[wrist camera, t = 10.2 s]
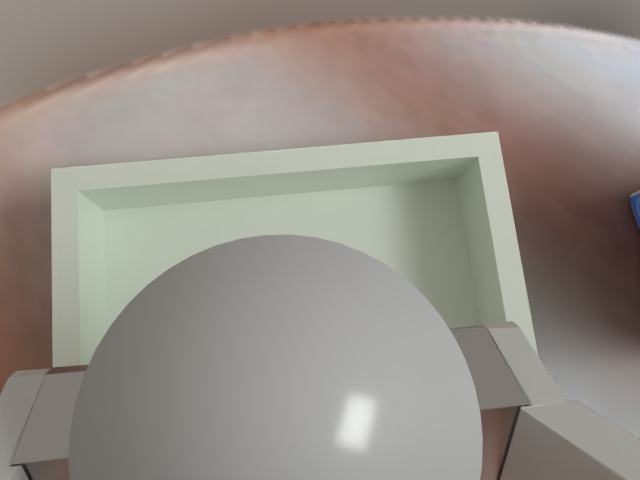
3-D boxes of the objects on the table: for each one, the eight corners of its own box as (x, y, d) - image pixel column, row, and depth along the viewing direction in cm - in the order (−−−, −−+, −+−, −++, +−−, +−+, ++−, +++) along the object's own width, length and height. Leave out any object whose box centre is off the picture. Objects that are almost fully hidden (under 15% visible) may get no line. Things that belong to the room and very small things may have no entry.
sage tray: (467, 164, 27) (497, 131, 23) (535, 570, 23) (585, 614, 19) (88, 197, 25) (50, 168, 21) (98, 630, 22) (55, 691, 18)
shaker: (344, 298, 16) (451, 219, 6) (361, 454, 15) (513, 633, 6) (194, 313, 16) (66, 250, 6) (203, 473, 15) (70, 703, 5)
